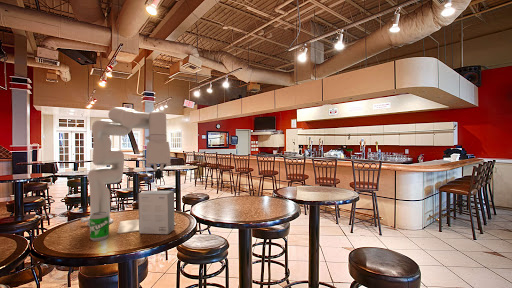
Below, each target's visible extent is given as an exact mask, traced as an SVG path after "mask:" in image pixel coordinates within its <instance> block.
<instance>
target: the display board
mask: <svg viewBox="0 0 512 288" xmlns="http://www.w3.org/2000/svg"><path fill="white" fill-rule="evenodd" d="M174 225H176V226H177V223H176V222H175V220H174ZM136 232H139V218H138V219H129V220H128V219H127V220H121V221H119V225H118V229H117V233H116V235H121V234H127V233H136Z"/></svg>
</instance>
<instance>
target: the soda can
mask: <svg viewBox="0 0 512 288" xmlns="http://www.w3.org/2000/svg"><path fill="white" fill-rule="evenodd" d="M89 217H90V227H89V239H90V240H92V241H93V242H99V241H104V240H106V239H107V238H108V237H109V235H110V228H109V227H110V224H109V214H108V213H107V212H96V213H93V214H92V215H91V216H90V215H89Z"/></svg>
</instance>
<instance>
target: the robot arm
mask: <svg viewBox="0 0 512 288" xmlns="http://www.w3.org/2000/svg"><path fill="white" fill-rule="evenodd" d="M108 118H109V119H97V120H95V121H93V123H92V125H91V134H92V139H93V149H92V163H93V165H94V166H97V168H96V167H95V168H92V169H90V170H88V173H87V180H88V186H89V200H90V201H89V205H90V206H89V209H90V210H89V211H90V212H89V216H88V217H84V218H83V217H82V218H80V222H81V223H86V226H87V227H89V228H90V216H91V215H92V214H93V213H96V212H107V213H108V214H109V225H110V224H112V223H114V218H111V193H110V189H109V188H108V186H106V185H108V184H117V183H119V182H121V180H122V179H123V174H124V165H125V154H124V152H123V151H122V149H119V148H112V139H111V138H110V137H109V136H114V137H116V136H117V137H125V136H128V135H129V134H130V133H131V131H133V129H138V130H139V129H142V130H143V129H144V130H148V135H146V136H145V137H144V138H145V140H148V141H147V143H146V150H145V167H146V168H151V169H153V170H154V179H156V180H157V181H158V180H160V181H161V178H163V170H165V168H167V167H170V166H171V165H172V163H171V147H170V142H169V141H167V139H168V137H167V133H168V132H167V115H166V113H165V112H164V111H154V110H153V111H150V112H142V111H137V110H136V109H133V108H127V107H117V106H116V107H112V108H111V109H110V110H109V112H108ZM158 165H159V169H158ZM98 166H99V167H98ZM100 166H101V167H100ZM102 166H103V167H102ZM105 166H106V167H105Z"/></svg>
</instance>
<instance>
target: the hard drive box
mask: <svg viewBox="0 0 512 288" xmlns="http://www.w3.org/2000/svg"><path fill="white" fill-rule="evenodd" d="M137 197H138V199H137V200H138V201H137V202H138V219H139V231H138V233H139V234H155V235H168V234H170V233H172V231H174V230H175V227H176V226H174V221H175V190H144V191H142V192H138V195H137Z"/></svg>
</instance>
